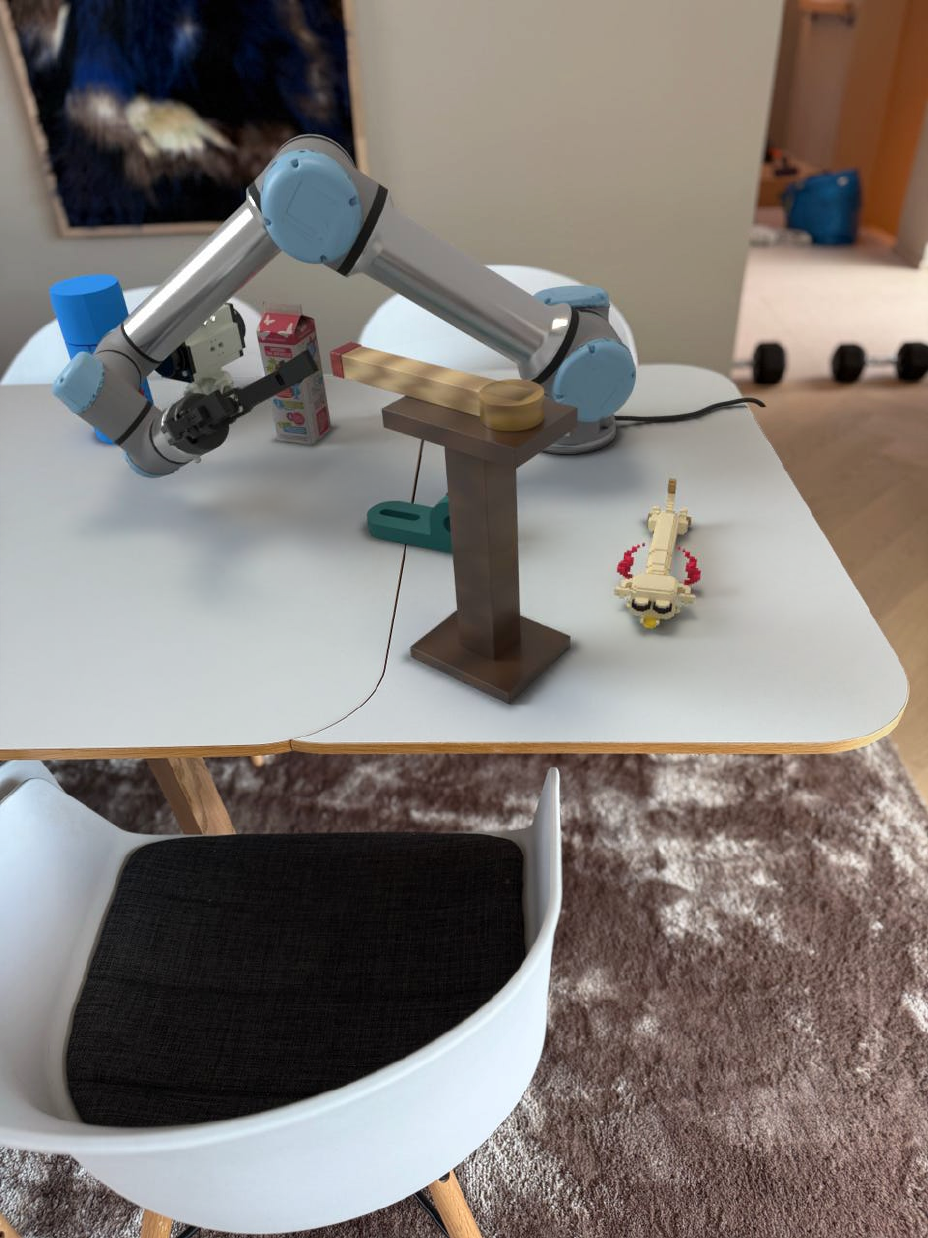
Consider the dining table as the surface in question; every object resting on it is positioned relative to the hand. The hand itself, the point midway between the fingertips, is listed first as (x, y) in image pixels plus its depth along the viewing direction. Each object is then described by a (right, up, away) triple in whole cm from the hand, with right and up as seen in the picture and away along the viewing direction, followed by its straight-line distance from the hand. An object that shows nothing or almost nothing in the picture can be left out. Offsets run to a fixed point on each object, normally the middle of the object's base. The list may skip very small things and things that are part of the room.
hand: (268, 380), depth 105 cm
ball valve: (-23, +12, +62) cm, 67 cm away
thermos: (-36, +5, +54) cm, 65 cm away
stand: (+26, -31, 0) cm, 40 cm away
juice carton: (-4, +3, +49) cm, 49 cm away
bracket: (+18, -16, +21) cm, 32 cm away
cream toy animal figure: (+47, -22, +10) cm, 53 cm away
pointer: (+19, -5, -15) cm, 25 cm away
